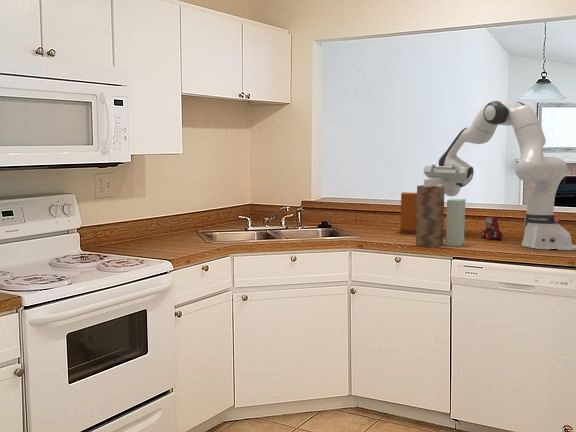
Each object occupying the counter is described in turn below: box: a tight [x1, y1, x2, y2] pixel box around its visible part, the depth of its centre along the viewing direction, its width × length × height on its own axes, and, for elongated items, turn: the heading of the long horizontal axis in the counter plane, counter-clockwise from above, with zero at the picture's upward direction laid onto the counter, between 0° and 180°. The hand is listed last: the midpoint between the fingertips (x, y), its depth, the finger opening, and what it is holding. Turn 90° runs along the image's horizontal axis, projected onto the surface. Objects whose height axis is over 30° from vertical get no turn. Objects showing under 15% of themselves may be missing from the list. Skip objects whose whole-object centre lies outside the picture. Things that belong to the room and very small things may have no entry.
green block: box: [445, 198, 466, 247], centre depth 302 cm, size 6×10×20 cm, turn 155°
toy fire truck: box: [480, 215, 503, 241], centre depth 321 cm, size 7×12×10 cm, turn 6°
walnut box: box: [415, 184, 445, 248], centre depth 300 cm, size 10×9×26 cm
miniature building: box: [399, 192, 417, 236], centre depth 340 cm, size 10×9×20 cm
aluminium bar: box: [423, 178, 441, 187], centre depth 302 cm, size 3×20×3 cm, turn 155°
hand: (443, 165), depth 319 cm, fingers open, 8 cm apart
